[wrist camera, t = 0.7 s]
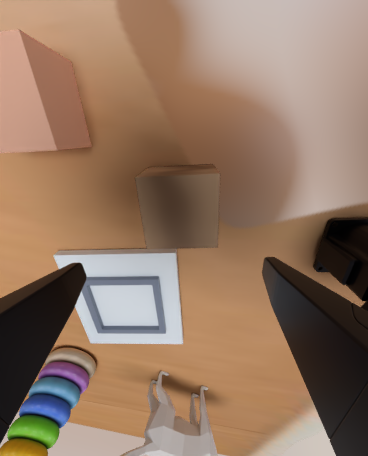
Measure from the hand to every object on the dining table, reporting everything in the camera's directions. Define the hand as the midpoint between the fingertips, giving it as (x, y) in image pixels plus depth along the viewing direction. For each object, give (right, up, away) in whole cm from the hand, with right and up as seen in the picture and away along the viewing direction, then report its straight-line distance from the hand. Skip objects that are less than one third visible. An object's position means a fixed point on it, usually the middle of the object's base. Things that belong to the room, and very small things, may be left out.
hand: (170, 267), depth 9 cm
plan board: (-7, -8, +16) cm, 19 cm away
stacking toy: (-18, -20, +23) cm, 36 cm away
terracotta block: (-11, +12, +7) cm, 18 cm away
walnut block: (0, +5, +10) cm, 11 cm away
